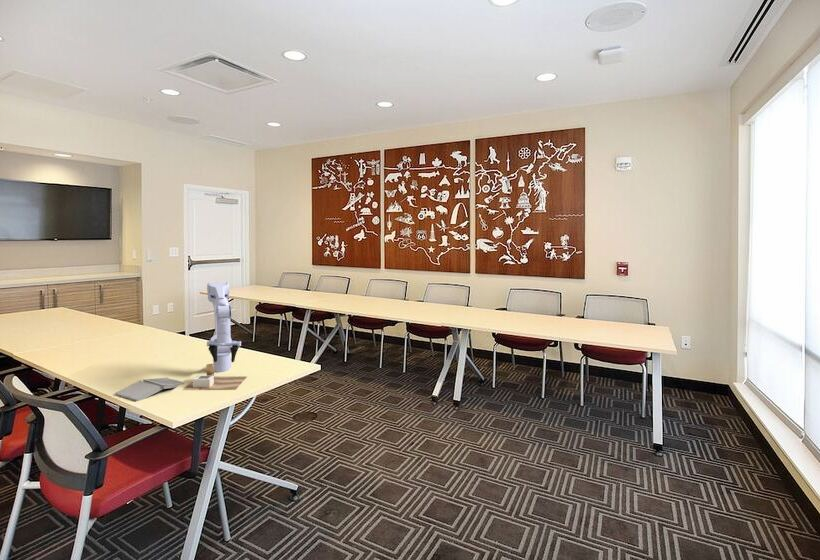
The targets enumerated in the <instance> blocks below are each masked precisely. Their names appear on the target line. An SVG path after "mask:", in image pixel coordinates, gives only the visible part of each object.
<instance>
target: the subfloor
mask: <svg viewBox="0 0 820 560" xmlns="http://www.w3.org/2000/svg"><path fill="white" fill-rule="evenodd" d="M247 377H248V376H247V375H246V376H241V375H240V376H238V375H237V376H236V375H234V376H223V375H222V376H221V375H220V376H215V375H214V384H213V385H212V386H211V387H193V381H192V382H190V383H189V384H187V385H186V386H185V387H184V388H183V389H182V391H236V390H237V389H238V388H239V387H240V386H241V385H242V383H243V382H245V380H246V379H247Z"/></svg>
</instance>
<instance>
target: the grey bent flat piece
mask: <svg viewBox="0 0 820 560" xmlns="http://www.w3.org/2000/svg"><path fill="white" fill-rule="evenodd" d="M184 384H185V382H183V381H181V380H177V379H174V378H169V377H158V378H147V379H142V380H139V381H137V382H135V383H132V384H130V385H128V386H126V387H124V388H123V389H120V390H118V391H116V392H114V394H115V395H116V396H118V397H122V398H125V399H128V400H131V401H133V402H140V401H143V400H145V399H147V398H149V397H151V396H152V395H155V394H156V393H158V392H160V391H162V390H166V389H174V388H175V389H176V388H177V387H179V386H182V385H184Z"/></svg>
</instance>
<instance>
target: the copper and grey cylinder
mask: <svg viewBox="0 0 820 560" xmlns="http://www.w3.org/2000/svg"><path fill="white" fill-rule="evenodd" d="M205 368H206V372H205V374H206V376H215V372H214V364H213V363H207V364H206V366H205Z"/></svg>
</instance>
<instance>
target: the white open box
mask: <svg viewBox="0 0 820 560" xmlns="http://www.w3.org/2000/svg"><path fill="white" fill-rule="evenodd" d="M214 376H215V375H214ZM214 376H207V375H196V376H195V377H194V378H192V382H193V387H211V386H212V385H213V384H214Z"/></svg>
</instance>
